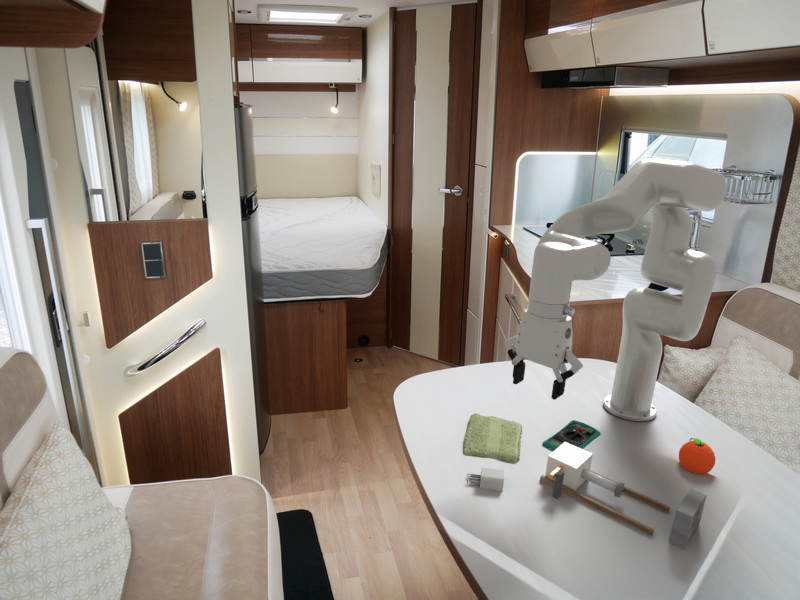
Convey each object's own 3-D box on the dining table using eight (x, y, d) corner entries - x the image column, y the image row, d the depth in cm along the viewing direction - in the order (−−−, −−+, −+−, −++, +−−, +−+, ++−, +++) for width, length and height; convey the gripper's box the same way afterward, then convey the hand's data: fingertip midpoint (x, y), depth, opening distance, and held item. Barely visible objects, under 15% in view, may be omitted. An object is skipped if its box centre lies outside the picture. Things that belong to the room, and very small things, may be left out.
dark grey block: (556, 492, 114) (560, 469, 112) (560, 494, 113) (564, 471, 112) (552, 496, 113) (556, 473, 111) (556, 498, 112) (560, 475, 110)
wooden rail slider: (553, 459, 127) (558, 426, 124) (701, 528, 108) (711, 490, 106) (519, 488, 117) (523, 453, 114) (675, 569, 98) (685, 529, 96)
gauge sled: (561, 464, 123) (565, 441, 121) (626, 494, 114) (631, 470, 112) (534, 488, 115) (537, 464, 113) (601, 522, 106) (606, 497, 104)
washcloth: (523, 428, 139) (524, 416, 138) (520, 472, 123) (522, 459, 122) (467, 420, 142) (468, 408, 141) (457, 462, 125) (458, 449, 124)
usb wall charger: (501, 497, 114) (503, 480, 113) (465, 493, 115) (467, 475, 114) (501, 485, 118) (503, 468, 116) (466, 480, 119) (468, 463, 117)
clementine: (668, 458, 129) (675, 429, 127) (701, 460, 129) (707, 431, 127) (683, 480, 122) (690, 450, 119) (717, 482, 121) (725, 453, 119)
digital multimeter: (601, 440, 136) (603, 428, 135) (570, 466, 125) (572, 454, 124) (571, 427, 140) (573, 416, 140) (539, 452, 130) (541, 440, 129)
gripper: (599, 314, 110) (586, 398, 116) (518, 292, 121) (509, 369, 126) (581, 324, 105) (568, 412, 110) (498, 300, 115) (490, 380, 121)
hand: (536, 389), depth 118 cm, fingers open, 8 cm apart
